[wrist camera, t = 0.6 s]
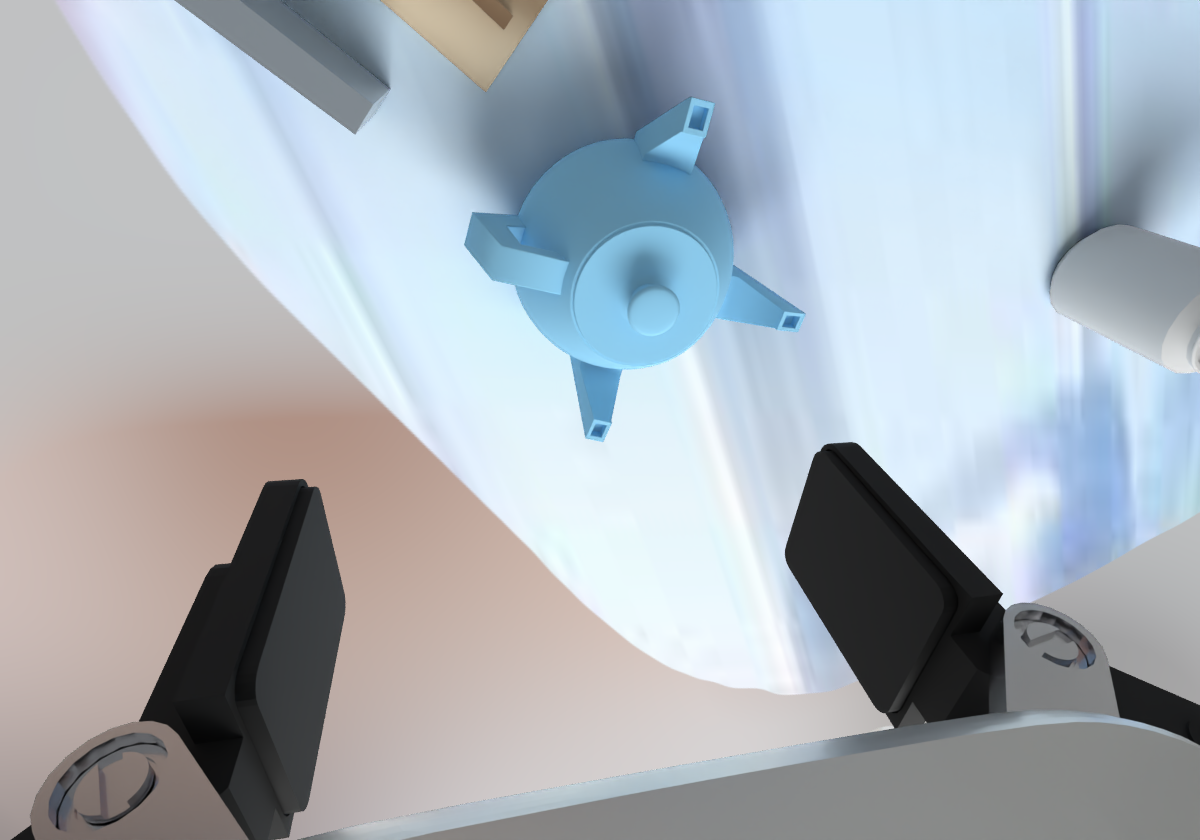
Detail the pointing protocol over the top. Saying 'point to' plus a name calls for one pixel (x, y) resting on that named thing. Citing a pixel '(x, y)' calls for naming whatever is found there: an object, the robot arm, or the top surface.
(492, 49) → the wooden ridged plate
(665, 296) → the teapot
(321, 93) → the tile
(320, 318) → the top surface
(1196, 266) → the can
